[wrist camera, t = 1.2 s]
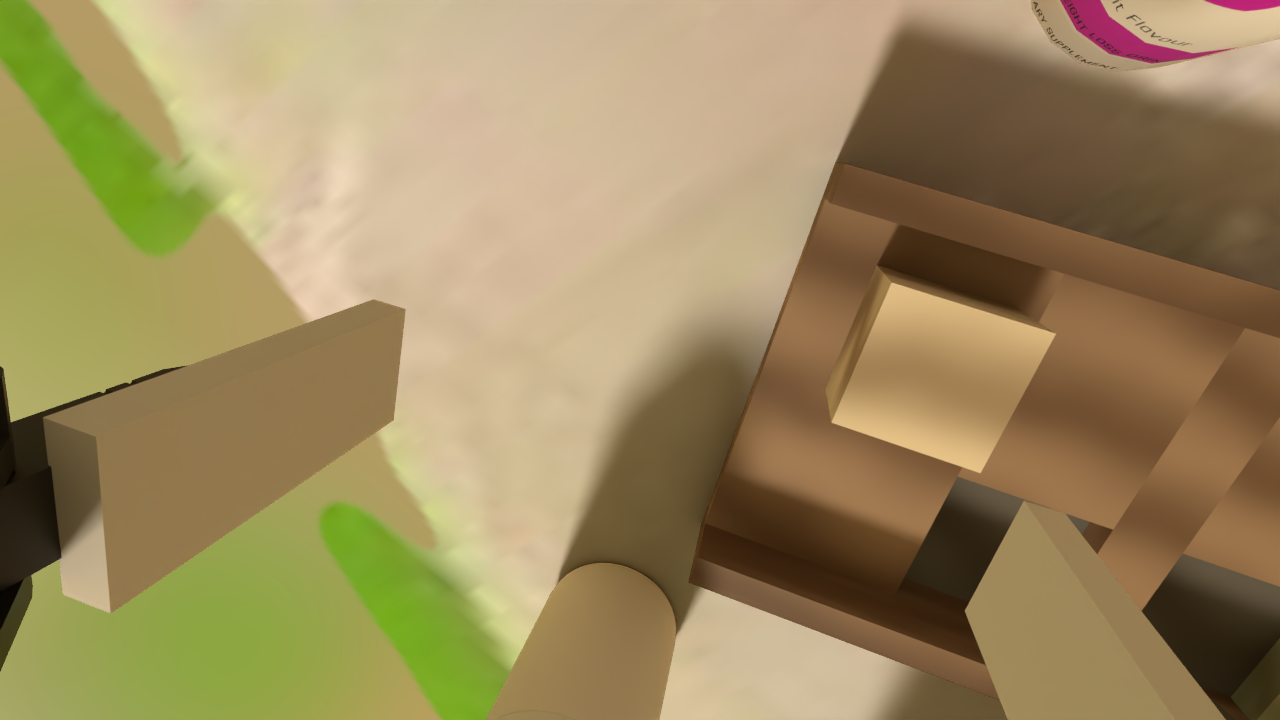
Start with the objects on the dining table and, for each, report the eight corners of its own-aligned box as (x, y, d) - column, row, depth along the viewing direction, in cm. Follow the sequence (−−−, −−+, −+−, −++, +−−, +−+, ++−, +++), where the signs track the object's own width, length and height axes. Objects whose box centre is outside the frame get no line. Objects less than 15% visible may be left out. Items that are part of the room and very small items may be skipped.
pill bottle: (657, 687, 39) (586, 981, 25) (538, 637, 40) (406, 894, 26) (698, 590, 36) (645, 859, 22) (570, 538, 37) (441, 766, 23)
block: (876, 265, 27) (891, 282, 23) (1017, 308, 26) (1056, 333, 23) (825, 388, 29) (831, 422, 25) (954, 431, 28) (980, 473, 25)
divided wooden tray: (835, 162, 28) (845, 163, 23) (1700, 415, 24) (1917, 476, 20) (701, 525, 35) (688, 582, 30) (1355, 766, 31) (1455, 872, 27)
